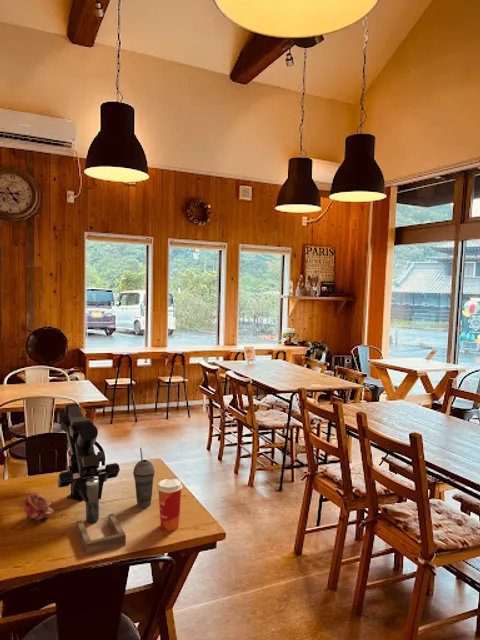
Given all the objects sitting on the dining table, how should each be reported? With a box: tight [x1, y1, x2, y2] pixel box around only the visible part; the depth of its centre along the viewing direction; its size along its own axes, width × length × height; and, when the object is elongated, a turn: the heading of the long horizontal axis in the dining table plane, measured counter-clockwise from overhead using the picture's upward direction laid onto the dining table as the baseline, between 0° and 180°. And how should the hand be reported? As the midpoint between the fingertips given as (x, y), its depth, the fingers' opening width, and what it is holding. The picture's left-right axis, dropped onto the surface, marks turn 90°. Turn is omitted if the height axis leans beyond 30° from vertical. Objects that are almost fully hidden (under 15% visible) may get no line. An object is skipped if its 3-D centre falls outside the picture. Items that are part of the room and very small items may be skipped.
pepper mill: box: [85, 477, 100, 523], centre depth 151 cm, size 4×4×12 cm
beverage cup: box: [132, 447, 156, 509], centre depth 162 cm, size 7×7×20 cm
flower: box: [23, 492, 54, 522], centre depth 153 cm, size 10×9×8 cm
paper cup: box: [157, 478, 183, 532], centre depth 148 cm, size 8×8×14 cm
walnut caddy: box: [76, 513, 127, 556], centre depth 142 cm, size 14×11×3 cm
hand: (93, 500), depth 150 cm, fingers closed on pepper mill, 4 cm apart
